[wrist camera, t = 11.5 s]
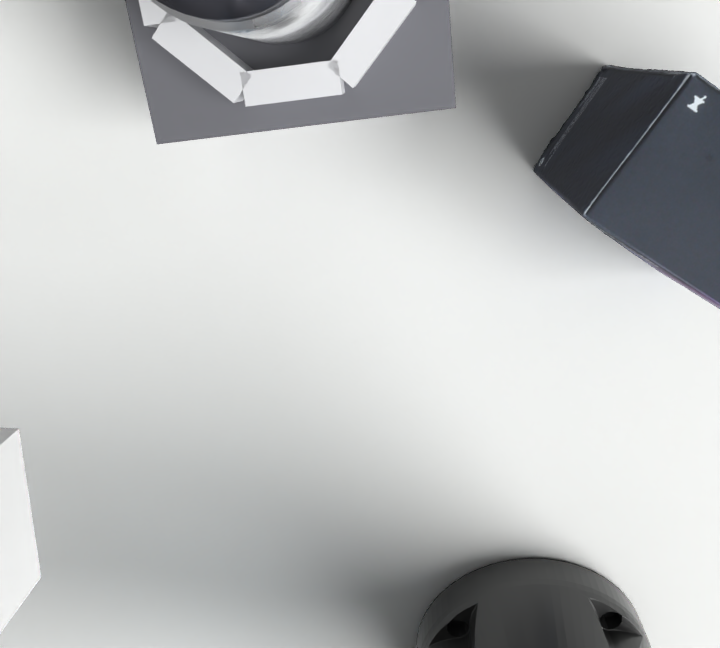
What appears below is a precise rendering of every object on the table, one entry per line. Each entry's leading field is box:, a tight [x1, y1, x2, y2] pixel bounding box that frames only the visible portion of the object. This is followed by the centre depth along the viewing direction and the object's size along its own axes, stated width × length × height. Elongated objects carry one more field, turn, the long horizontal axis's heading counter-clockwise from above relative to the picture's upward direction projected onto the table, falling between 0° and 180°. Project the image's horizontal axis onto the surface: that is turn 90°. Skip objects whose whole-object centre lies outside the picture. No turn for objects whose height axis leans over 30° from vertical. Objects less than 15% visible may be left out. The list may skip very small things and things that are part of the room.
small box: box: [534, 65, 720, 309], centre depth 30 cm, size 11×6×10 cm, turn 59°
